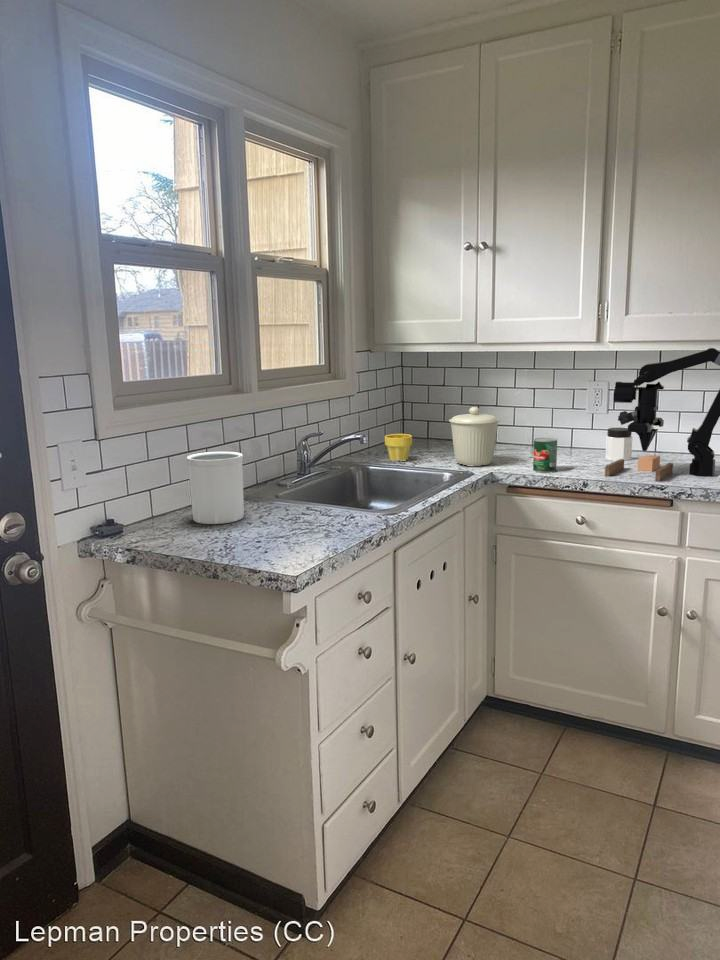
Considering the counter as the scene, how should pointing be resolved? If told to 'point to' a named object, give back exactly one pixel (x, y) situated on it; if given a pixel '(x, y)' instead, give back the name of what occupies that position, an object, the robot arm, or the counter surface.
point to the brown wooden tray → (619, 466)
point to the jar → (618, 444)
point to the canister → (474, 437)
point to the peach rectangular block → (648, 463)
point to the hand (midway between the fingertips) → (644, 450)
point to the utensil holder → (216, 487)
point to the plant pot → (398, 446)
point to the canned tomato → (545, 455)
